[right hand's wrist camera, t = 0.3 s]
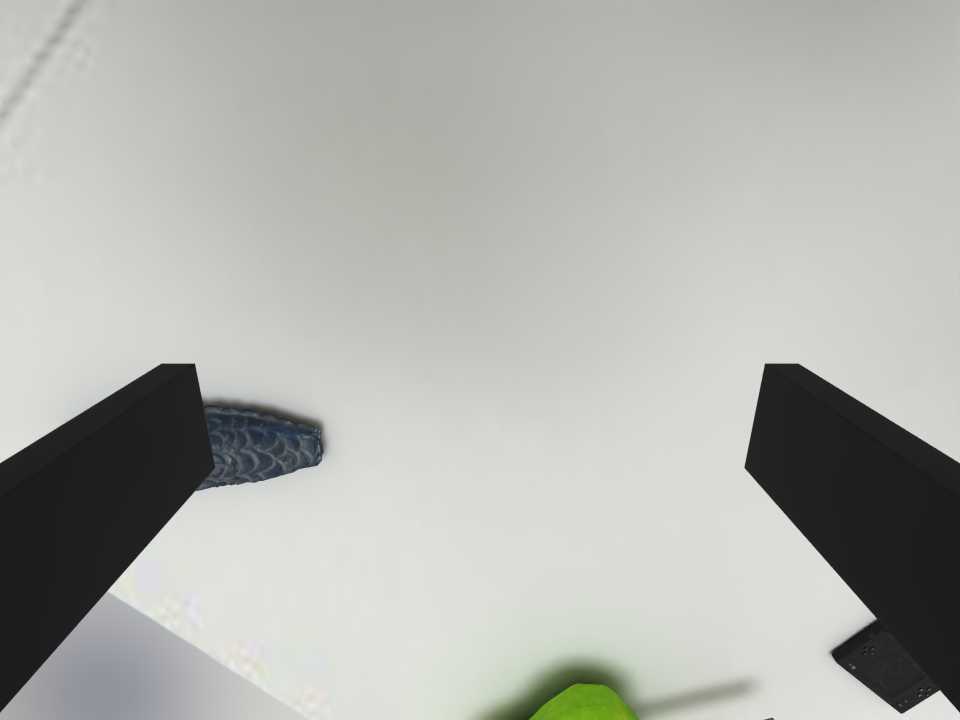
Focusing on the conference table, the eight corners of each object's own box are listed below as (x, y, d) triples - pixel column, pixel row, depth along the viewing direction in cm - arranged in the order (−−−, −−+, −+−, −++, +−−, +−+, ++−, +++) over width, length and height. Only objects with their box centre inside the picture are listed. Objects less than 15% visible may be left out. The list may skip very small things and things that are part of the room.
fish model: (57, 401, 42) (5, 431, 38) (320, 395, 42) (300, 425, 38) (81, 472, 45) (35, 509, 40) (329, 467, 45) (313, 503, 40)
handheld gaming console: (826, 684, 51) (953, 732, 42) (835, 606, 53) (957, 636, 44) (897, 712, 54) (1028, 761, 45) (903, 638, 57) (1029, 671, 48)
